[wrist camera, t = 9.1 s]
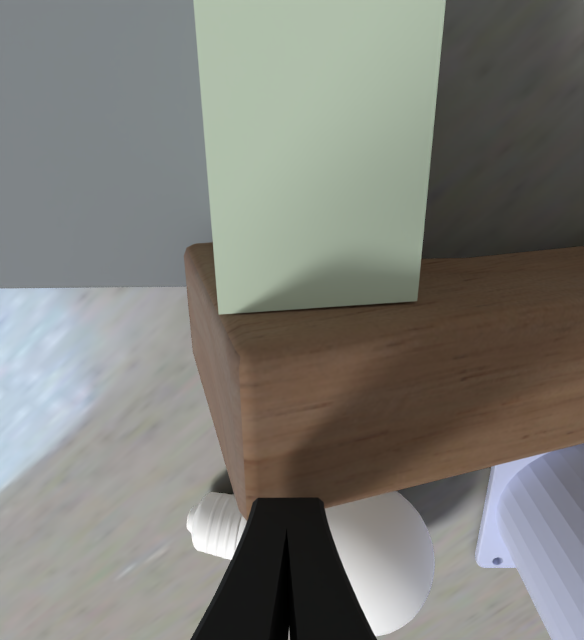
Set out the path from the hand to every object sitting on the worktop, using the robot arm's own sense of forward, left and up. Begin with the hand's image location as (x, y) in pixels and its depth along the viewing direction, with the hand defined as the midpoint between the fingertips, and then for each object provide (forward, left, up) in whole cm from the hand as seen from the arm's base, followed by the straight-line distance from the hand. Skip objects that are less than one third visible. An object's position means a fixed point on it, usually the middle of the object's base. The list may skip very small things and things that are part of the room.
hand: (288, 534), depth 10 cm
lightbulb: (+5, +9, -9) cm, 14 cm away
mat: (+8, -8, -10) cm, 15 cm away
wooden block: (+3, -2, -5) cm, 6 cm away
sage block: (0, -8, -10) cm, 13 cm away
